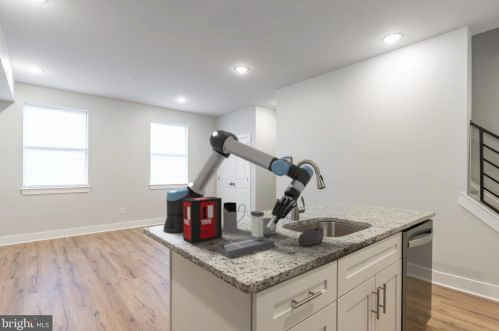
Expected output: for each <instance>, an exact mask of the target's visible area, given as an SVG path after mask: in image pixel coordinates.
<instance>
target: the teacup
mask: <svg viewBox="0 0 499 331" xmlns="http://www.w3.org/2000/svg"><path fill="white" fill-rule="evenodd" d="M271 218H272V217H267V216H266V217H263V232H264V233H267V234H269V236H272V235H274V233H276V230H277V224H276V225H275V226H274V228H273V229H272V230H269V229H268V227H267V225H268V224H269V222H270V220H271Z"/></svg>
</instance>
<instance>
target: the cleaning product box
mask: <svg viewBox="0 0 499 331" xmlns="http://www.w3.org/2000/svg"><path fill="white" fill-rule="evenodd" d="M222 201H223V200H222V197H218V196H217V197H215V196H204V197H203V198H192V199H183V232H182V233H183V234H182V235H183V238H182V240H183V241H184V242H186V243H189V244H191V245H196V244H200V243H205V242H208V241H213V240H217V239H222V238H223V235H222V234H223V233H222V232H223V223H222V222H223V208H222Z"/></svg>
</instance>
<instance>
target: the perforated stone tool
mask: <svg viewBox="0 0 499 331" xmlns="http://www.w3.org/2000/svg"><path fill="white" fill-rule="evenodd" d="M323 240H324V229H323V228H322V227H314V228H311V229H308V230H305V231H304V232H302V233H300V235H299V236H298V240H297V241H298V242H297V243H298V244H299V245H300V246H302V247H308V246H315V245H318V244H321V243H323Z"/></svg>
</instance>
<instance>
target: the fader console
mask: <svg viewBox="0 0 499 331" xmlns="http://www.w3.org/2000/svg"><path fill="white" fill-rule="evenodd" d="M263 235H264V240H259V241H256V240H254V239H251V235H250V236H246V237H242V238H237V239H229V240H226V241H220V240H219V241H217V243H214V244H213V250H214V251H215V252H216V253H219V254H221V255H222V256H224V257H226V258H233V257H237V256H241V255H244V254H248V253H253V252H257V251H261V250H266V249H269V248H272V247H275V245H276V244H275V240H273V239H270V235H269V234H267V233H264V232H263Z"/></svg>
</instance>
